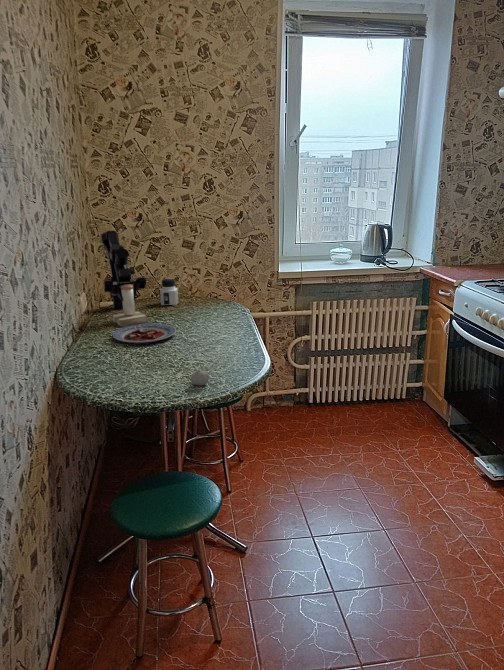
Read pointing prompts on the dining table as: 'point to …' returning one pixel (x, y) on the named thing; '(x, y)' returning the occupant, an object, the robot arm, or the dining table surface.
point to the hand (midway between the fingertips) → (128, 300)
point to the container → (169, 292)
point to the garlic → (199, 377)
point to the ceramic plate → (144, 333)
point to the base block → (129, 319)
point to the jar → (128, 299)
